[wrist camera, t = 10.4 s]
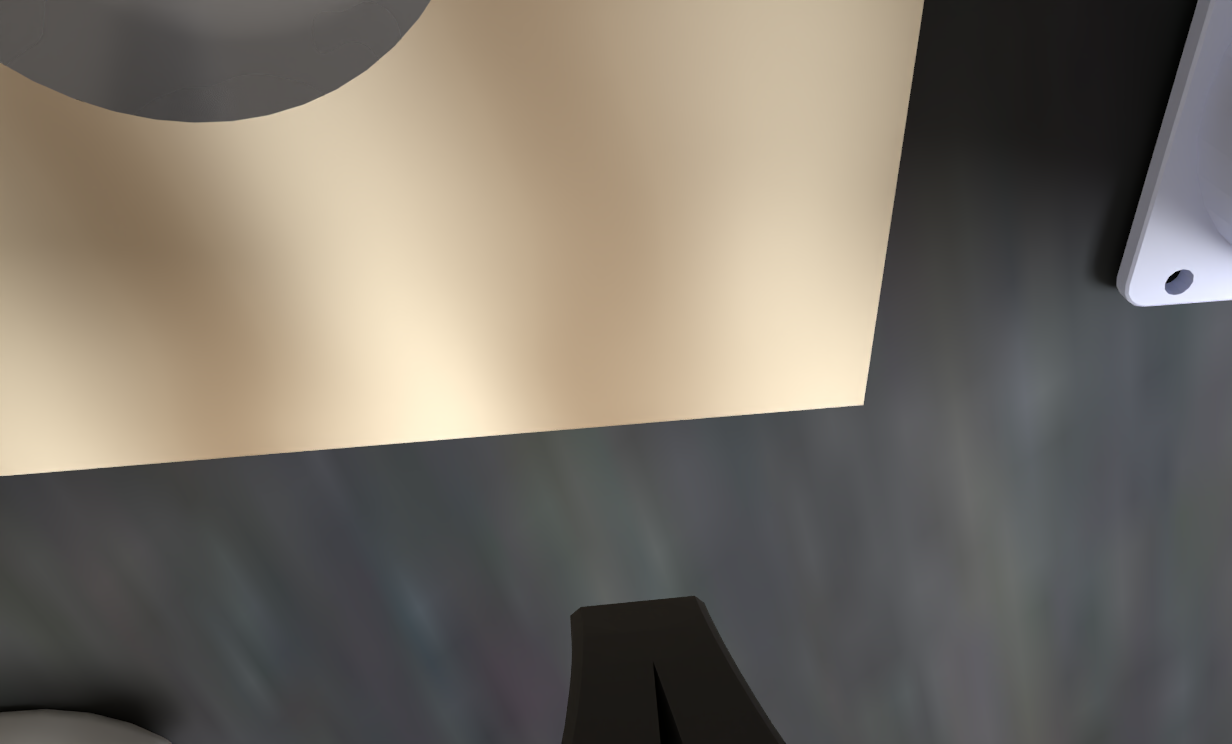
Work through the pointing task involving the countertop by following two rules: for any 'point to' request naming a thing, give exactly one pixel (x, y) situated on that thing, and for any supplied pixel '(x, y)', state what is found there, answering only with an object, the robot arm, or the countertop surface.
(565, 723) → the robot arm
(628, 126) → the lock board
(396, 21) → the lever
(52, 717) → the cup
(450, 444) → the countertop surface
